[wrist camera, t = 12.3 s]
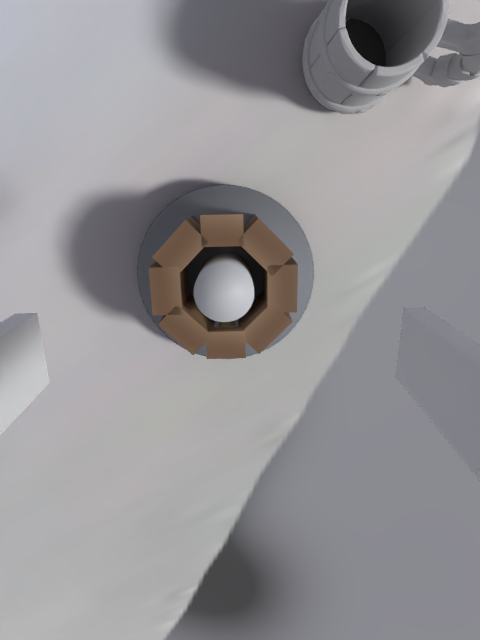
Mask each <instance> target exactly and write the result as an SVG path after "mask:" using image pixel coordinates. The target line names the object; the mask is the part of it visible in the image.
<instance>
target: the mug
mask: <svg viewBox="0 0 480 640" xmlns="http://www.w3.org/2000/svg"><path fill="white" fill-rule="evenodd" d="M448 14H449V0H328V2H327V4H326V6H325V8H324V9H323V10H322V12H321V13H320V15H319V16H318V17H317V18H316V20H315V21H314V22H313V24H312V25H311V28H310V30H309V33H308V34H307V36H306V37H305V42H304V48H303V56H302V64H303V73H304V77H305V81H306V84H307V86H308V88H309V90H310V92H311V93H312V95H313V96H314V98H315V99H316V100H317V101H318V102H319V103H320V104H321V105H323V106H324V107H326V108H328V109H330V110H333V111H335V112H339V113H343V114H355V113H362V112H365V111H366V110H368V109H370V108H372V107H374V106H376V105H377V104H379V103H380V102H381V101H382V100H384V99H385V98H386V97H387V96H388V95H389V94H390V92H391V91H392V90H394V89H395V88H397V87H399V86H400V85H402V84H403V83H404V82H406V81H407V80H408V79H409V78H410V77H411V76H414V77H417V78H418V79H420V80H422V81H423V82H424V83H425V84H427V85H430V86H431V85H439V86H441V87H448V86H454V85H457V84H459V83H462V82H464V81H467V80H472V79H475V78H477V77H479V76H480V22H479V23H476V24H471V25H470V24H463V23H460V22H458V21H454V20H451V19H448ZM345 19H346V20H345ZM349 19H356V20H362V21H363V22H365V23H368V24H370V25H371V26H372V27H373V28H374V29H375V30H376V31H377V32H378V33H379V34H380V36H381V38H382V40H383V43H384V48H385V52H386V67H383V66H375V65H374V64H372V63H370V62H368V61H367V60H365V59H364V58H363V57H362V56H361V55H360V54H359V53H358V52H357V51H356V49H355V48H354V46H353V45H352V43H351V41H350V38H349V35H348V32H347V29H346V23H347V22H348V20H349ZM436 46H437V47H441V48H446V49H449V50H453V51H456V52H459V54H457V53H452V54H449V55H444V56H440V57H439V58H438V59H436V58H433V57H431V56H430V55H431V53H432V52H433V51H434V49H435V48H436Z"/></svg>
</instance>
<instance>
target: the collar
mask: <svg viewBox="0 0 480 640" xmlns="http://www.w3.org/2000/svg"><path fill="white" fill-rule="evenodd" d="M227 246H242V247H243V248H244V249H245V250H246V251H247V252H248V253H249V254H250V255H251V256H252V257H253V258H254V259H255V260H256V261H257V262H258V263H259V264H260V265H261V266H262V267H263V292H262V293H261V294H260V295H259V296H258V297H257V298H256V299H255V300H254V301H253V303H252V305H251V307H250V309H249V310H248V312H247V313H246V314H245V315H243V316H242V317H241V318H239V319H238V327H216V328H214V324H215V321H214V320H212V319H210V318H208V317H206V316H205V315H204V314H203V313H202V312H201V311H200V310H199V309H198V307H197V305H196V303H195V299H194V296H192V295H191V294H190V293H189V283H188V266H187V265H188V264H189V263H190V262H191V261H192V259H193V258H194V257H195V256H196V255H197V254H198V253H199V252H200V251H201V250H202V249H203V248H204V247H227ZM293 255H294V254H293V253H292V251H291V250H290V249H289V248H288V247H287V246H286V245H285V244H284V243H283V242H282V241H281V240H280V239H279V238H278V237H277V236H276V235H275V234H274V233H273V232H272V231H271V230H270V229H269V228H268V227H267V226H266V225H265V224H264V223H263V222H262V221H261V220H260V219H259V218H258V217H257V216H256V215H254V216H253V217H252V218H251V219H250V220H249V221H248V222H247V224H246V225H245V226H244V227H243V213H240V214H201V215H200V222H199V221H198V220H197V219H196V218H195V217H194V216H191V217H189V218H188V219H186V220H185V221H184V222H183V223H182V224H181V225H180V226H179V228H178V229H177V230H176V231H175V232H174V233H173V234H172V235H171V237H170V238H169V239H168V240H167V241H166V242H165V243H164V244H163V245H162V247H161V248H160V249H159V250H158V251H157V252H156V253H155V254H154V255H153V257H152V258H153V259H154V260H155V262H154V263H153V264H152V265H151V266H150V267H149V280H150V291H151V302H152V314H153V315H163V316H162V318H161V320H160V322H159V323H158V326H160V327H161V328H162V329H163V330H164V331H165V332H167V333H168V334H169V335H170V336H171V337H172V338H174V339H175V340H176V341H177V342H178V343H179V344H181V345H182V346H183V347H184V348H185V349H186V350H188V351H189V352H190V353H191V354H192V355H194V354H195V353H196V352H197V351H198V350H199V349H200V348H201V347H202V346H203V345H204V344H205V343H206V350H207V359H218V358H246V350H245V342H246V343H248V344H249V345H250V346H251V347H252V348H253V349H254V350H255V351H256V352H258V353H259V354H260V353H261V352H262V351H263V350H264V349H265V348H266V347H267V346H268V345H269V344H270V343H271V342H272V341H273V340H274V339H275V338H276V337H277V336H278V335H279V334H281V333H282V332H283V331H284V330H285V329H286V328H287V327H288V326H289V325H290V324H291V323H292V319H291V317H290V314H289V313H290V312H297V291H298V264H297V263H296V261H295V260H294V259H293V258H292V256H293Z"/></svg>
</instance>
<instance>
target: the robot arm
mask: <svg viewBox="0 0 480 640" xmlns="http://www.w3.org/2000/svg"><path fill="white" fill-rule="evenodd" d="M395 377H396V378H397V380H398V381H399V382H400V383H401V385H402V386H403V387H404V388H405V390H406V391H407V392H408V393H409V394H410V396H411V397H412V398H413V399H414V401H415V402H416V403H417V404H418V406H419V407H420V408H421V409H422V410H423V412H424V413H425V414H426V415H427V417H428V418H429V419H430V420H431V422H432V423H433V424H434V425H435V426H436V428H437V429H438V430H439V431H440V433H441V434H442V435H443V436H444V438H445V439H446V440H447V441H448V442H449V444H450V445H451V446H452V447H453V449H454V450H455V451H456V452H457V454H458V455H459V456H460V457H461V459H462V460H463V461H464V462H465V463H466V465H467V466H468V467H469V468H470V469H471V471H472V472H473V473H474V475H475V476H476V477H477V478H478V479H479V481H480V343H478V342H477V341H475V340H474V339H472V338H471V337H469V336H468V335H466V334H465V333H463V332H462V331H460V330H459V329H457V328H456V327H454V326H452V325H451V324H450V323H448V322H446V321H445V320H443V319H442V318H440V317H439V316H437V315H436V314H434V313H433V312H431V311H430V310H428V309H427V308H425V307H404V308H403V315H402V323H401V333H400V341H399V349H398V358H397V366H396V375H395ZM49 383H50V382H49V377H48V371H47V366H46V360H45V355H44V349H43V344H42V338H41V333H40V327H39V322H38V316H37V313H25V314H14V315H12V316H11V317H9V318H7V319H6V320H4V321H2V322H1V323H0V435H1V434H2V433H3V432H4V430H5V429H6V428H7V427H8V426H9V425H10V424H11V423H12V422H13V421H14V420H15V419H16V418H17V417H18V416H19V415H20V413H21V412H22V411H23V410H24V409H25V408H26V407H27V406H28V405H29V404H30V403H31V402H32V401H33V400H34V399H35V397H36V396H37V395H38V394H39V393H40V392H41V391H42V390H43V389H44V388H45V387H46V386H47V385H48V384H49Z"/></svg>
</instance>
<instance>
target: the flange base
mask: <svg viewBox="0 0 480 640" xmlns="http://www.w3.org/2000/svg"><path fill="white" fill-rule="evenodd" d="M240 213H243V227H244V226H245V225H246V224H247V222H248V221H249V220H250V219H251V218H252V217H253V216H254V215H256V216H257V217H258V218H259V219H260V220H261V221H262V222H263V223H264V224H265V225H266V226H267V227H268V228H269V229H270V230H271V231H272V232H273V233H274V234H275V235H276V236H277V237H278V238H279V239H280V240H281V241H282V242H283V243H284V244H285V245H286V246H287V247H288V248H289V249H290V250H291V251H292V253H293V254H294V255H293V256H292V258H293V259H294V260H295V261H296V263H297V264H298V291H297V312H290V313H289V314H290V317H291V319H292V323H291V324H290V325H289V326H288V327H287V328H286V329H285V330H284V331H283V332H282V333H281V334H279V335H278V336H277V337H276V338H275V339H274V340H273V341H272V342H271V343H270V344H269V345H268V346H267V347H266V348H265V349H264V350H266V349H268V348H270V347H272V346H273V345H275V344H276V343H278V342H279V341H280V340H282V339H283V338H284V337H285V336H286V335H288V333H289V332H290V331H291V330H292V329H293V328H294V327H295V326H296V324H297V323H298V321H299V320H300V319H301V317H302V315H303V313H304V311H305V310H306V307H307V305H308V302H309V300H310V296H311V292H312V288H313V280H314V264H313V258H312V253H311V249H310V246H309V243H308V240H307V238H306V236H305V234H304V232H303V230H302V228H301V227H300V225H299V224H298V222H297V221H296V220H295V218H294V217H293V216H292V215H291V214H290V212H289V211H287V210H286V209H285V208H284V207H283V206H282V205H281V204H279V203H278V202H277V201H275V200H274V199H272V198H271V197H269V196H267V195H265V194H263V193H261V192H258V191H255V190H253V189H250V188H246V187H241V186H234V185H217V186H209V187H204V188H200V189H197V190H194V191H192V192H189V193H187V194H185V195H183V196H181V197H180V198H178V199H176V200H175V201H174V202H172V203H171V204H170V205H168V206H167V207H166V208H165V209H164V210H163V211H162V212H161V213H160V214H159V215H158V216H157V218H156V219H155V220H154V221H153V223H152V224H151V226H150V228H149V229H148V231H147V233H146V235H145V237H144V240H143V242H142V245H141V249H140V253H139V258H138V267H137V269H138V284H139V290H140V293H141V297H142V300H143V303H144V305H145V307H146V309H147V312H148V313H149V315H150V317H151V318H152V320H153V321H154V323H155V324H156V325H157V326H158V323H159V322H160V320H161V318H162V316H163V315H153V314H152V302H151V291H150V280H149V267H150V266H151V265H152V264H153V263H154V262H155V260H154V259H153V258H152V257H153V255H154V254H155V253H156V252H157V251H158V250H159V249H160V248H161V247H162V245H163V244H164V243H165V242H166V241H167V240H168V239H169V238H170V237H171V235H172V234H173V233H174V232H175V231H176V230H177V229H178V228H179V226H180V225H181V224H182V223H183V222H184V221H185V220H186V219H188V218H189V217H191V216H194V217H195V218H196V219H197V220H198V221H199V222H200V215H201V214H240ZM187 266H188V283H189V293H190V294H191V295H192V296H194V299H195V303H196V305H197V307H198V309H199V310H200V311H201V312H202V313H203V314H204V315H205V316H206V317H208V318H210V319H212V320H214V321H215V324H214V328H216V327H238V319H239V318H241V317H242V316H243V315H245V314H246V313H247V312H248V310H249V309H250V307H251V305H252V303H253V301H254V300H255V299H256V298H257V297H258V296H259V295H260V294H261V293H262V292H263V267H262V266H261V265H260V264H259V263H258V262H257V261H256V260H255V259H254V258H253V257H252V256H251V255H250V254H249V253H248V252H247V251H246V250H245V249H244V248H243V247H242V246H227V247H204V248H203V249H202V250H201V251H200V252H199V253H198V254H197V255H196V256H195V257H194V258H193V259H192V261H191V262H190V263H189V264H188V265H187ZM158 328H159V329H160V330H161V331H162V332H163V333H164V334H165V335H166V336H167V337H168V338H170V339H171V340H172V341H174V342H175V343H176V344H178V345H179V346H181V347H183V346H182V345H181V344H179V343H178V342H177V341H176V340H175V339H174V338H172V337H171V336H170V335H169V334H168V333H167V332H165V331H164V330H163V329H162V328H161V327H160V326H158ZM183 348H184V347H183ZM245 350H246V357H247V356H251V355H254V354H257V353H258V352H256V351H255V350H254V349H253V348H252V347H251V346H250V345H249V344H248V343H246V342H245ZM264 350H263V351H264ZM196 354H199V355H202V356H206V357H207V350H206V343H205V344H204V345H203V346H202V347H201V348H200V349H199V350H198V351H197V352H196ZM218 359H234V358H218Z"/></svg>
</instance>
